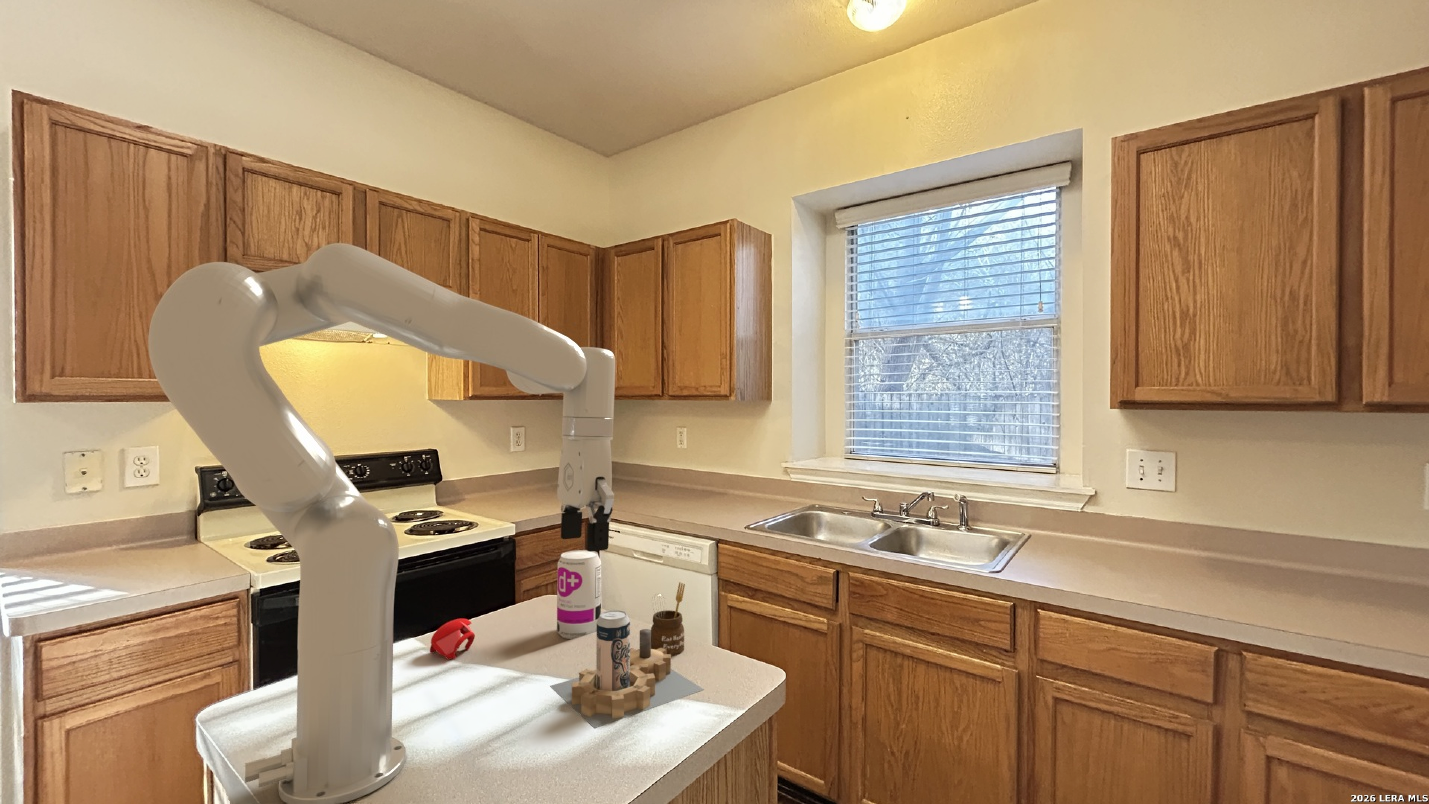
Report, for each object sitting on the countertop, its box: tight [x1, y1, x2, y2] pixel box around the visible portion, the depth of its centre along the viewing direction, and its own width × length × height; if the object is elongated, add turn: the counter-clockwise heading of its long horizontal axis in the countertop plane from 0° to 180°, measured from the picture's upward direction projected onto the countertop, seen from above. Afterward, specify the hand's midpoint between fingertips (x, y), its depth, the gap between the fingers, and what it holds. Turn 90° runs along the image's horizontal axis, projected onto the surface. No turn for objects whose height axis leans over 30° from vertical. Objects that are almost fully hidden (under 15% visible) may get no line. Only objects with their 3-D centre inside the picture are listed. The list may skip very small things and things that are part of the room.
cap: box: [429, 618, 476, 660], centre depth 104 cm, size 8×6×6 cm
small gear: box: [630, 628, 672, 681], centre depth 95 cm, size 8×8×6 cm
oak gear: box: [572, 664, 655, 718], centre depth 87 cm, size 12×12×2 cm
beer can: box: [595, 609, 631, 691], centre depth 87 cm, size 5×5×12 cm
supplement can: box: [556, 549, 602, 640], centre depth 115 cm, size 8×8×15 cm
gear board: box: [549, 668, 705, 729], centre depth 90 cm, size 18×15×1 cm
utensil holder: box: [650, 581, 686, 657], centre depth 104 cm, size 6×6×12 cm
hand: (583, 543), depth 89 cm, fingers open, 9 cm apart
